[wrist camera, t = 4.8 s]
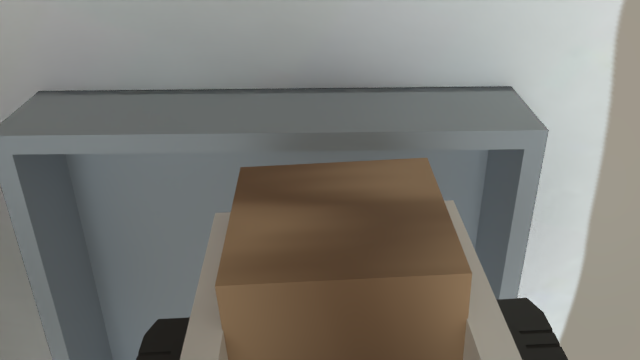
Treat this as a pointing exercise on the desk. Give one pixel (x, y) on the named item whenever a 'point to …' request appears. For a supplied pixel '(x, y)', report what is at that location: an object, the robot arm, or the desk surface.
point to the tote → (230, 186)
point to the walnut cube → (342, 265)
